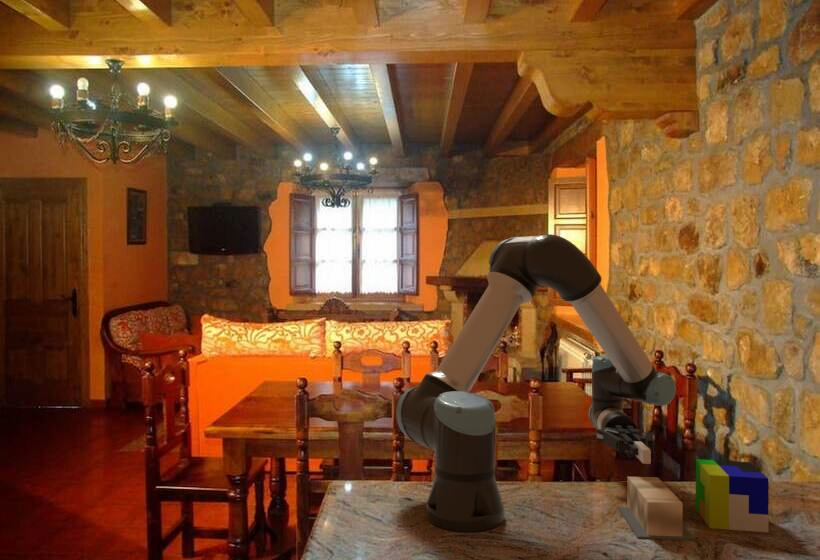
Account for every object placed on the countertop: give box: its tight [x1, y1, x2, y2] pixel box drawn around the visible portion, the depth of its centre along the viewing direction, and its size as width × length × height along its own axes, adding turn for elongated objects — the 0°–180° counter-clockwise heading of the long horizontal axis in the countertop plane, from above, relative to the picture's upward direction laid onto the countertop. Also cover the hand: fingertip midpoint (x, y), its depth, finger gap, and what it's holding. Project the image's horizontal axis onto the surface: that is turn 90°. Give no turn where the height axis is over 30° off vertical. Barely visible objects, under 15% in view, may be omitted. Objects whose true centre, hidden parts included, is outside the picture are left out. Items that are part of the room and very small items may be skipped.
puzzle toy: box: [695, 458, 770, 533], centre depth 118 cm, size 10×10×10 cm
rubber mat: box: [617, 506, 696, 541], centre depth 116 cm, size 14×10×1 cm
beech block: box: [626, 476, 684, 537], centre depth 117 cm, size 6×6×14 cm
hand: (646, 456), depth 122 cm, fingers closed
